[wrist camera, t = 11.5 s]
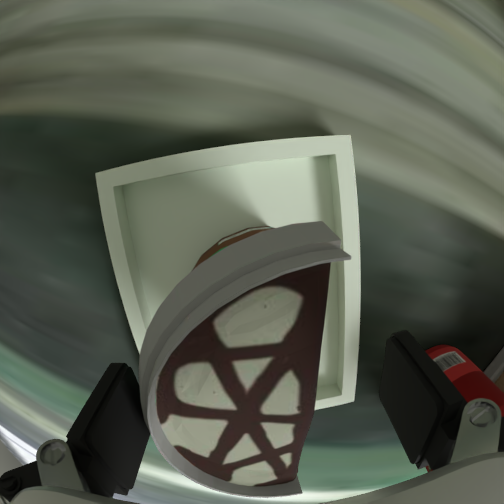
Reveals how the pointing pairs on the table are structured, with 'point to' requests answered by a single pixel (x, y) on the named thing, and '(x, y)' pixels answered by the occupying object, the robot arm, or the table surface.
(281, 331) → the food container
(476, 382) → the canned food
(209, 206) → the tray
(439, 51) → the table surface
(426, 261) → the table surface
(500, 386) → the tankard
